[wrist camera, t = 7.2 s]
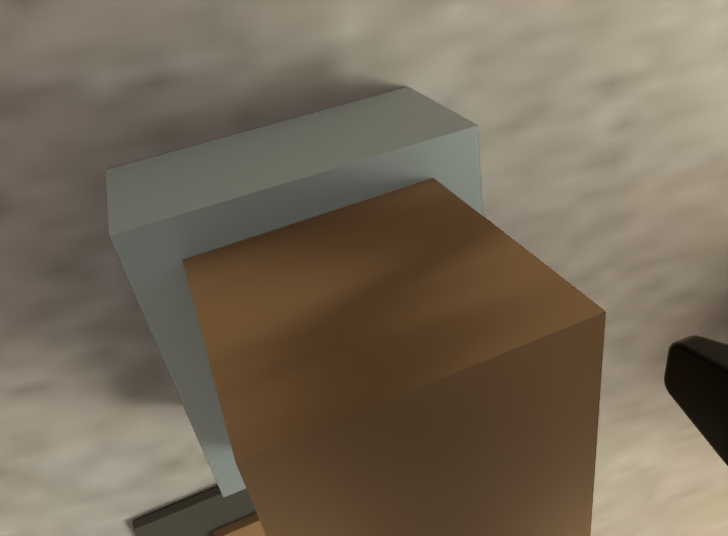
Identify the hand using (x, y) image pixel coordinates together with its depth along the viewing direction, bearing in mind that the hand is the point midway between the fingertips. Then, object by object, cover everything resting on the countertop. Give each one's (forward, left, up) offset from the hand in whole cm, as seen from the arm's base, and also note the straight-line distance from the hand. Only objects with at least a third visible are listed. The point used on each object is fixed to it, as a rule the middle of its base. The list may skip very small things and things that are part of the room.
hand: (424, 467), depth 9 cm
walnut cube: (0, 0, -4) cm, 4 cm away
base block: (0, 0, -8) cm, 8 cm away
